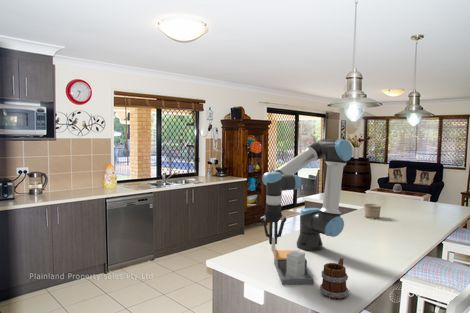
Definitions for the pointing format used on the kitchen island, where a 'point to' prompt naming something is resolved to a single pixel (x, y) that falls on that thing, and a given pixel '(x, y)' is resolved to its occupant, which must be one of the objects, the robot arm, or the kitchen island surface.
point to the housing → (303, 280)
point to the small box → (295, 264)
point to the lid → (281, 254)
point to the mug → (334, 281)
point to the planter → (372, 210)
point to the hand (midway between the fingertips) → (272, 250)
